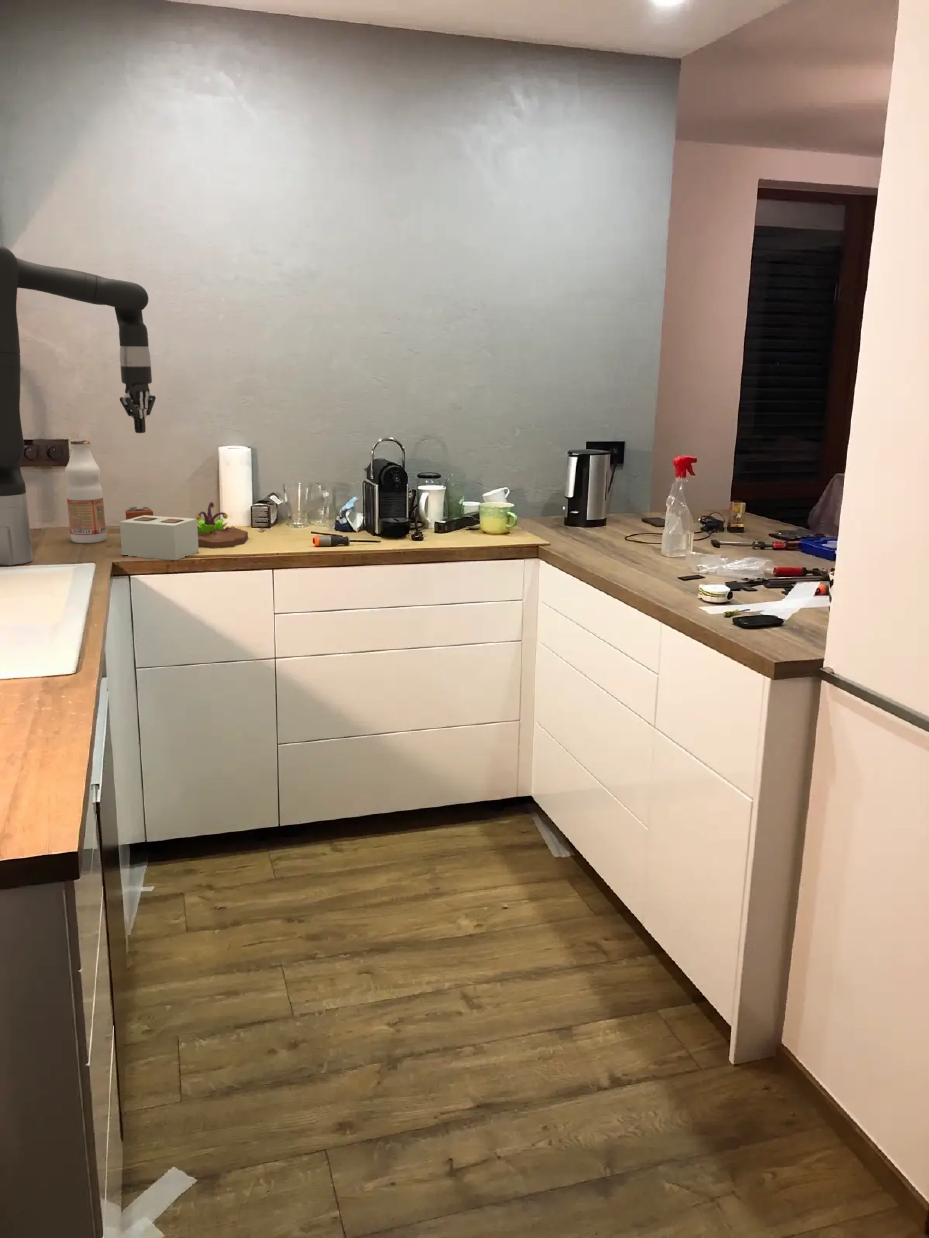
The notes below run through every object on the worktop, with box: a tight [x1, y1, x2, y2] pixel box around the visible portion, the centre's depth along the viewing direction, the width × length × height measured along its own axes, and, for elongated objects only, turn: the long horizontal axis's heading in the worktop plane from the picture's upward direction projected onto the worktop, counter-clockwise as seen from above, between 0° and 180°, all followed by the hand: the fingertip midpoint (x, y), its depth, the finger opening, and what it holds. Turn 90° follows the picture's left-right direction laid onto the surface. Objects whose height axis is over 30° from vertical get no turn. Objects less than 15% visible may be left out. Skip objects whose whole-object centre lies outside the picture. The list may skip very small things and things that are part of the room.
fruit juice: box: [64, 438, 107, 544], centre depth 274 cm, size 9×9×28 cm
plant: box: [195, 501, 249, 549], centre depth 278 cm, size 20×20×11 cm
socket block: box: [119, 515, 200, 561], centre depth 261 cm, size 11×16×9 cm
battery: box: [125, 506, 154, 520], centre depth 275 cm, size 4×7×10 cm, turn 118°
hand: (140, 432), depth 260 cm, fingers closed
